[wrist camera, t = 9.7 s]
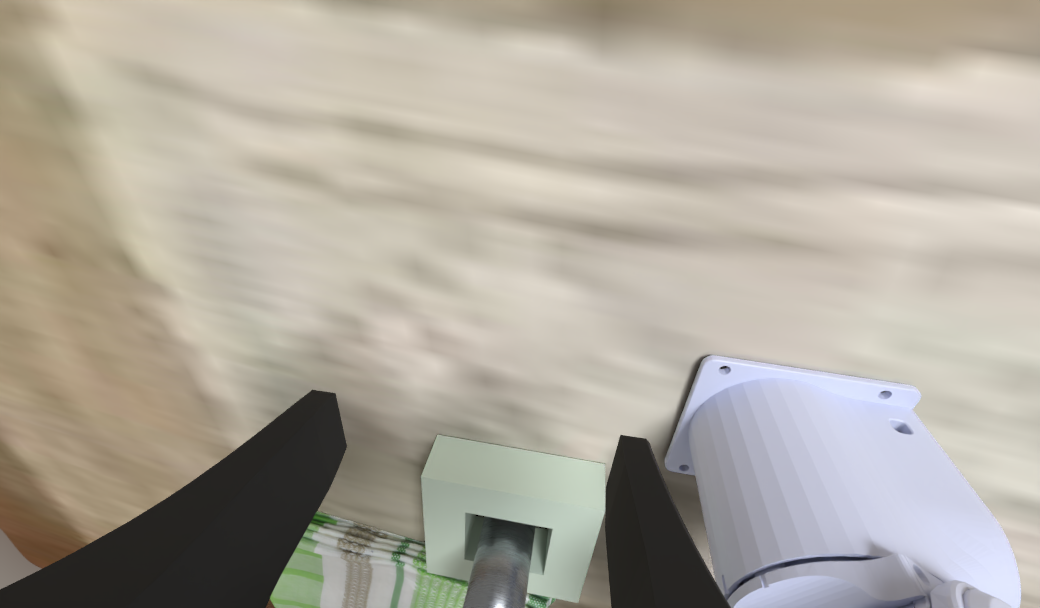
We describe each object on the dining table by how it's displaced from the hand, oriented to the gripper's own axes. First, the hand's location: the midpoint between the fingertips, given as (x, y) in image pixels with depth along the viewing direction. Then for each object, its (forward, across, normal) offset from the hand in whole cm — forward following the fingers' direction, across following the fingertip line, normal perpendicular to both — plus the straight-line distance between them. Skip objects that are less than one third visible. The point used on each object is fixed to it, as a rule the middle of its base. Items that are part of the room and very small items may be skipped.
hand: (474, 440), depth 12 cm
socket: (+10, -1, +18) cm, 21 cm away
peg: (+10, -1, +18) cm, 20 cm away
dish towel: (+11, +8, +33) cm, 35 cm away
